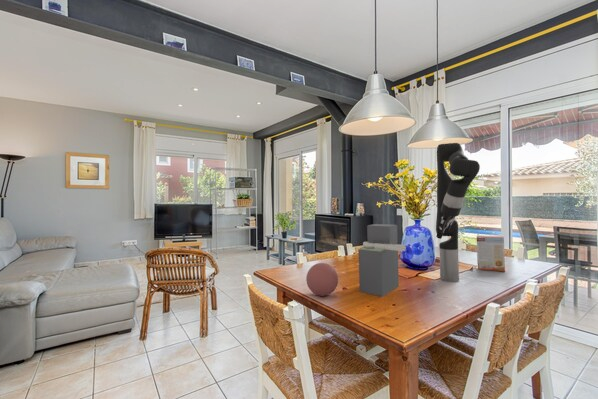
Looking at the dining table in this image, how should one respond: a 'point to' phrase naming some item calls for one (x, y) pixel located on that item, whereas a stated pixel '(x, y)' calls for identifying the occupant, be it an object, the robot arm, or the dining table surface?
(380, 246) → the flanged bar
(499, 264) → the cracker box
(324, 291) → the mauve oval ball
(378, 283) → the stepped shelf
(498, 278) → the dining table surface
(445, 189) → the robot arm
